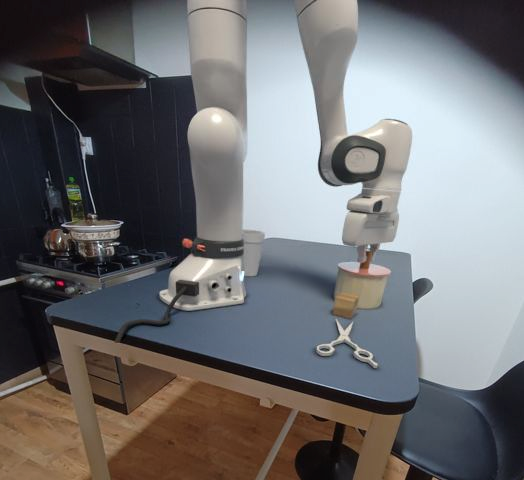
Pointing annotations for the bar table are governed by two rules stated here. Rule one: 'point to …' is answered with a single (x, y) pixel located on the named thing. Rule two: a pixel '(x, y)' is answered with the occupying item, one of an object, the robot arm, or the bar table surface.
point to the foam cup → (252, 251)
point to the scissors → (346, 339)
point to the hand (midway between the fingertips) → (365, 261)
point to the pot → (361, 288)
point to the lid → (364, 267)
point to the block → (345, 305)
